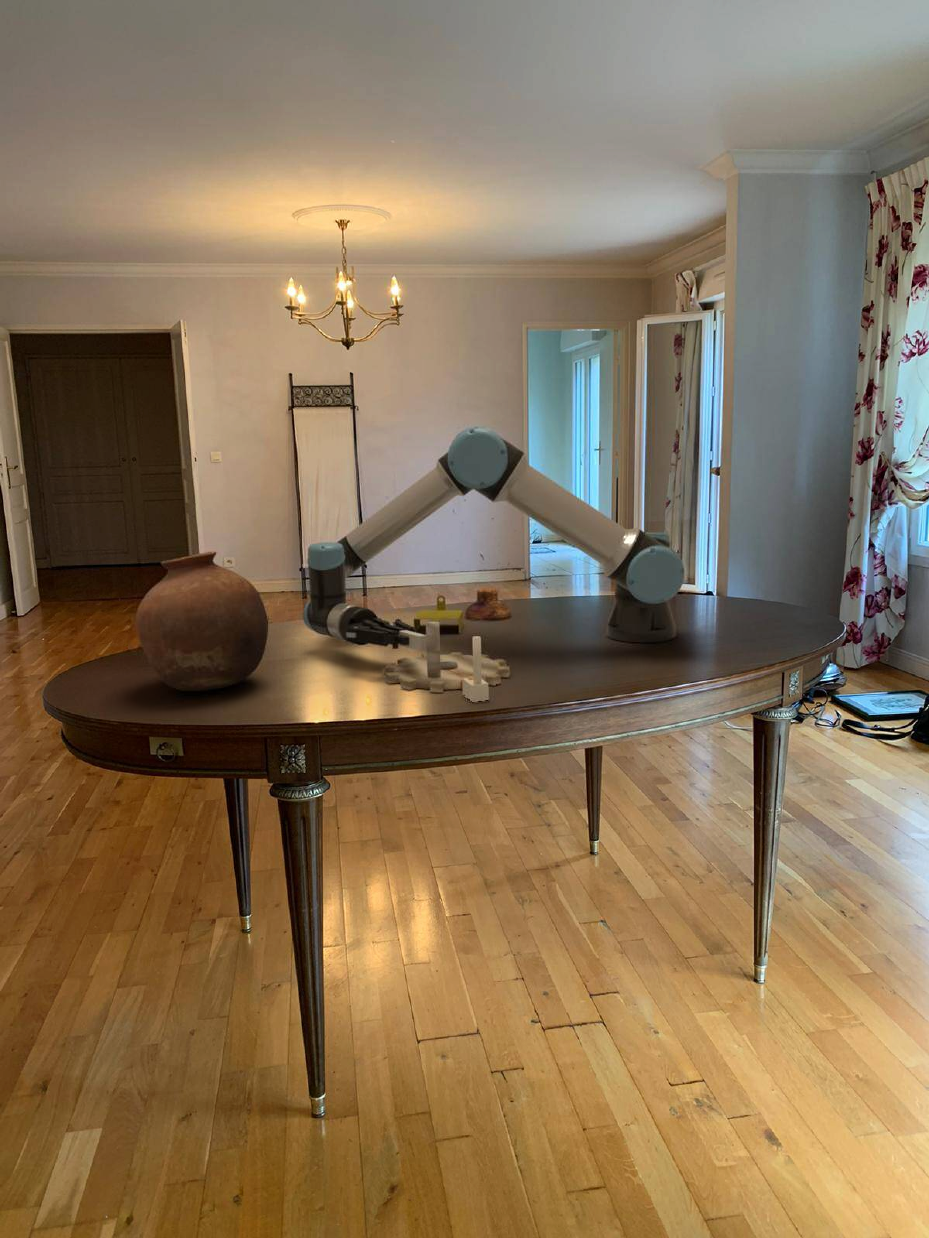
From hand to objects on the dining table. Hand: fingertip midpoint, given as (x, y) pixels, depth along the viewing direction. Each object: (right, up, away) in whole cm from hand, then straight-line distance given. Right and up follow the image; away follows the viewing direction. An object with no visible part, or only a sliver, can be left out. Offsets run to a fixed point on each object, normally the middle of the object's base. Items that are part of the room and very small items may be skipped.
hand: (423, 643), depth 159 cm
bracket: (+1, +1, +46) cm, 46 cm away
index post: (+9, -9, -8) cm, 15 cm away
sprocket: (+4, -6, +7) cm, 10 cm away
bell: (+14, +5, +62) cm, 63 cm away
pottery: (-40, -8, +3) cm, 41 cm away
